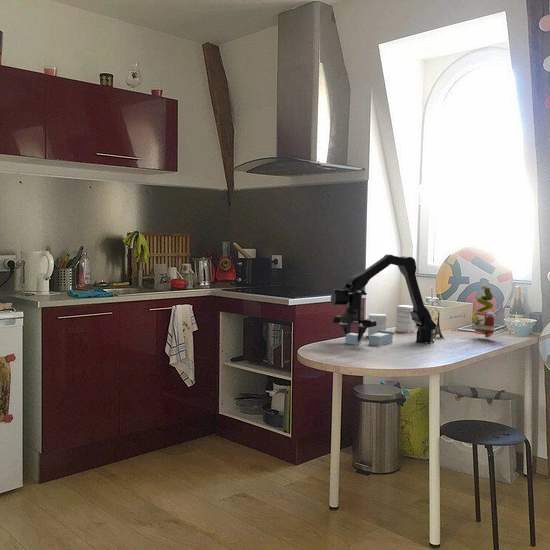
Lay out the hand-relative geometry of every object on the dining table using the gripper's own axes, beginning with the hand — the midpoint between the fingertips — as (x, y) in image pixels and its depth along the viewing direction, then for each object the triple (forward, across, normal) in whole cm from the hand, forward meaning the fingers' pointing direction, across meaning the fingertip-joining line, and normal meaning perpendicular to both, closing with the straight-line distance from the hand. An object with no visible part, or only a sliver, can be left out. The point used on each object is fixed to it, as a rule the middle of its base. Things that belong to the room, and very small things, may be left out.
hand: (353, 341), depth 276 cm
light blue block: (+1, 0, 0) cm, 1 cm away
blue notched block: (+1, +8, +9) cm, 13 cm away
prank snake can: (+1, +37, +57) cm, 69 cm away
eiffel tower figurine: (+2, +21, +43) cm, 48 cm away
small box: (+1, -1, +23) cm, 23 cm away
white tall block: (+1, +1, +50) cm, 50 cm away
